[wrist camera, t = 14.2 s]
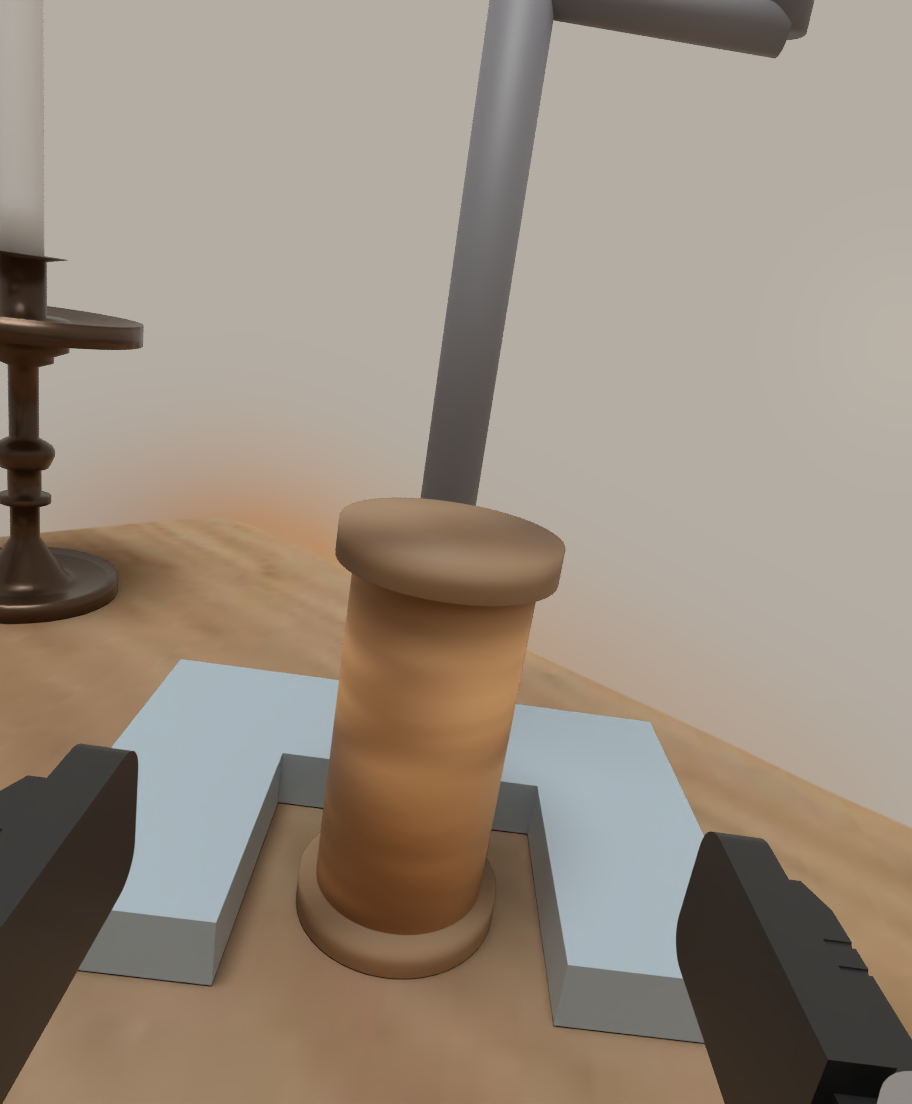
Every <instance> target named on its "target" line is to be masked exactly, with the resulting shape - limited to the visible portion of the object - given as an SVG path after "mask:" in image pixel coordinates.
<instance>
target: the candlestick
mask: <svg viewBox="0 0 912 1104" xmlns="http://www.w3.org/2000/svg"><path fill="white" fill-rule="evenodd" d="M43 79H44V78H43V0H0V361H1V362H3V363H6V364H8V407H9V436H8V437H5V438H3V439H1V440H0V467H2V468H5V469H7V480H8V482H7V483H8V490H5V491H2V492H0V504H3V505H6V506H10V538H9V540H8V541H7V542H6V544H5V545H4V547H3V548H0V623H34V622H45V621H53V620H59V619H65V618H70V617H74V616H78V615H82V614H85V613H88V612H91V611H94V610H96V609H99V608H100V607H102V606H104V605H106V604H108V603H109V602H110V601H111V600H112V599H114V598H115V596H116V594H117V592H118V571H117V569H116V568H115V567H114V565H112V564H111V563H110V562H108V561H106V560H104V559H102V558H100V557H98V556H94V555H91V554H88V553H84V552H79V551H75V550H68V549H61V548H51V547H47V546H46V545H45V543H44V542H43V541H42V539H41V538H40V507H41V506H46V505H48V504H50V503H51V495H50V494H49V493H47V492H44V491H41V470H46V469H48V468H49V466H50V465H51V463H52V461H53V459H54V457H55V450H54V448H53V446H52V445H51V444H49V443H48V442H46V441H44V440H42V439H41V438H39V377H38V376H39V367H41V366H45V365H50V364H53V363H54V357H56V356H60V355H64V354H67V353H69V348H77V349H100V350H127V349H128V350H129V349H138V348H141V347H143V324H141V323H138V322H135V321H131V320H127V319H122V318H117V317H112V316H107V315H101V314H96V313H89V312H83V311H76V310H70V309H64V308H56V307H49V306H47V262H54V261H66V260H64V259H58V258H52V257H45V256H44V110H43V109H44V95H43V94H44V86H43V85H44V84H43V83H44V80H43Z"/></svg>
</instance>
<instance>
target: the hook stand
mask: <svg viewBox="0 0 912 1104" xmlns="http://www.w3.org/2000/svg"><path fill="white" fill-rule="evenodd" d="M813 4H814V0H490V1H489V9H488V17H487V23H486V31H485V38H484V45H483V52H482V59H481V66H480V74H479V81H478V88H477V96H476V103H475V110H474V117H473V125H472V131H471V139H470V146H469V153H468V160H467V168H466V175H465V182H464V189H463V196H462V204H461V211H460V218H459V225H458V232H457V240H456V247H455V254H454V261H453V269H452V276H451V283H450V290H449V297H448V304H447V313H446V319H445V326H444V334H443V341H442V348H441V355H440V362H439V369H438V377H437V384H436V391H435V398H434V406H433V413H432V421H431V427H430V434H429V442H428V449H427V457H426V463H425V471H424V478H423V485H422V492H421V499H433V500H442V501H449V502H456V503H462V504H468V505H473V506H476V500H477V494H478V488H479V482H480V475H481V468H482V463H483V456H484V450H485V444H486V438H487V431H488V425H489V419H490V412H491V406H492V400H493V393H494V387H495V381H496V375H497V369H498V362H499V356H500V350H501V344H502V337H503V331H504V325H505V319H506V312H507V306H508V299H509V294H510V287H511V281H512V275H513V268H514V262H515V256H516V250H517V244H518V237H519V231H520V224H521V219H522V212H523V206H524V200H525V193H526V186H527V181H528V175H529V168H530V162H531V156H532V150H533V143H534V137H535V131H536V124H537V118H538V111H539V106H540V100H541V93H542V87H543V81H544V74H545V68H546V61H547V55H548V49H549V42H550V37H551V31H552V24H553V20H555V21H560V22H567V23H572V24H579V25H584V26H590V27H596V28H601V29H607V30H613V31H619V32H625V33H631V34H637V35H642V36H648V37H654V38H659V39H666V40H671V41H677V42H683V43H689V44H694V45H701V46H706V47H712V48H718V49H723V50H730V51H735V52H741V53H747V54H753V55H758V56H765V57H770V58H776V57H777V56H778V55H779V54H780V52H781V51H782V49H783V47H784V45H785V43H786V40H792V39H798V38H801V37H803V36H805V35H806V33H807V29H808V25H809V21H810V16H811V12H812V8H813ZM338 684H339V680H333V679H325V678H318V677H310V676H303V675H295V674H288V673H280V672H273V671H265V670H258V669H250V668H243V667H235V666H228V665H220V664H213V663H206V662H198V661H191V660H183V659H181V660H180V661H179V662H178V664H177V665H176V666H175V667H174V669H173V670H172V671H171V673H170V674H169V675H168V676H167V678H166V679H165V680H164V681H163V683H162V684H161V685H160V687H159V688H158V689H157V690H156V692H155V693H154V694H153V695H152V697H151V698H150V699H149V700H148V702H147V703H146V704H145V706H144V707H143V708H142V709H141V711H140V712H139V713H138V714H137V716H136V717H135V718H134V719H133V721H132V722H131V723H130V725H129V726H128V727H127V728H126V730H125V731H124V732H123V733H122V735H121V736H120V737H119V739H118V740H117V741H116V742H115V744H114V745H113V746H112V747H111V748H115V749H123V750H130V751H135V752H136V754H137V757H138V787H137V810H136V832H135V848H134V855H133V860H132V864H131V868H130V872H129V875H128V878H127V881H126V883H125V886H124V888H123V890H122V892H121V894H120V896H119V898H118V900H117V902H116V903H115V905H114V907H113V909H112V910H111V912H110V914H109V916H108V918H107V919H106V921H105V923H104V925H103V926H102V928H101V930H100V932H99V933H98V935H97V937H96V939H95V941H94V942H93V944H92V946H91V948H90V949H89V951H88V953H87V955H86V956H85V958H84V960H83V962H82V964H81V965H80V967H79V969H78V970H83V971H91V972H100V973H108V974H117V975H126V976H134V977H143V978H151V979H160V980H169V981H177V982H186V983H194V984H203V985H211V986H212V983H213V980H214V977H215V974H216V972H217V969H218V966H219V963H220V961H221V958H222V955H223V952H224V950H225V947H226V944H227V941H228V939H229V936H230V933H231V930H232V928H233V925H234V922H235V919H236V916H237V914H238V911H239V908H240V905H241V903H242V900H243V897H244V894H245V892H246V889H247V886H248V883H249V881H250V878H251V875H252V872H253V869H254V867H255V864H256V861H257V858H258V856H259V853H260V850H261V847H262V845H263V842H264V839H265V836H266V834H267V831H268V828H269V825H270V823H271V820H272V817H273V814H274V811H275V809H276V806H277V803H278V802H281V803H289V804H296V805H304V806H312V807H320V808H324V800H325V792H326V783H327V775H328V767H329V759H330V750H331V742H332V734H333V726H334V717H335V709H336V701H337V693H338ZM492 829H494V830H502V831H509V832H517V833H525V834H528V841H529V848H530V855H531V863H532V870H533V877H534V885H535V892H536V899H537V906H538V914H539V921H540V928H541V936H542V943H543V950H544V957H545V965H546V972H547V979H548V987H549V994H550V1001H551V1008H552V1016H553V1023H554V1025H555V1026H564V1027H572V1028H581V1029H589V1030H598V1031H607V1032H615V1033H624V1034H632V1035H641V1036H650V1037H658V1038H667V1039H675V1040H684V1041H693V1042H701V1043H704V1040H703V1037H702V1034H701V1031H700V1028H699V1025H698V1022H697V1019H696V1016H695V1013H694V1010H693V1007H692V1004H691V1001H690V998H689V995H688V992H687V989H686V986H685V983H684V980H683V977H682V974H681V971H680V968H679V965H678V960H677V953H676V929H677V922H678V917H679V914H680V910H681V907H682V904H683V900H684V897H685V894H686V890H687V887H688V883H689V880H690V877H691V873H692V870H693V867H694V863H695V860H696V857H697V853H698V850H699V847H700V844H701V841H702V839H703V837H704V835H703V833H702V831H701V829H700V827H699V825H698V823H697V820H696V818H695V816H694V814H693V812H692V810H691V808H690V806H689V803H688V801H687V799H686V797H685V795H684V793H683V791H682V789H681V787H680V784H679V782H678V780H677V778H676V776H675V774H674V772H673V770H672V767H671V765H670V763H669V761H668V759H667V757H666V755H665V753H664V751H663V748H662V746H661V744H660V742H659V740H658V738H657V736H656V734H655V731H654V729H653V727H652V725H651V723H650V722H646V721H639V720H631V719H624V718H617V717H609V716H602V715H594V714H587V713H579V712H572V711H564V710H557V709H549V708H542V707H534V706H527V705H519V704H516V705H515V710H514V716H513V721H512V726H511V731H510V736H509V741H508V747H507V752H506V757H505V762H504V767H503V772H502V777H501V783H500V788H499V793H498V798H497V803H496V808H495V814H494V819H493V824H492Z"/></svg>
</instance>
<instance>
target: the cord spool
mask: <svg viewBox="0 0 912 1104" xmlns="http://www.w3.org/2000/svg"><path fill="white" fill-rule="evenodd" d="M339 516H340V517H339V524H338V533H337V542H336V557H337V559H338V561H339V562H340V563H341V565H343V566H344V567H345V568H346V569H347V570H348V571H350V572H352V577H351V585H350V594H349V602H348V610H347V618H346V627H345V635H344V643H343V651H342V660H341V668H340V676H339V684H338V693H337V701H336V709H335V717H334V726H333V734H332V742H331V750H330V759H329V767H328V775H327V783H326V792H325V800H324V808H323V816H322V825H321V832H320V833H319V834H317V835H316V837H315V838H314V839H313V840H312V841H311V842H310V843H309V845H308V846H307V848H306V849H305V851H304V853H303V855H302V858H301V862H300V867H299V875H298V884H297V893H296V907H297V913H298V916H299V920H300V922H301V924H302V926H303V928H304V930H305V932H306V933H307V935H308V936H309V937H310V939H311V940H312V941H313V942H314V943H315V944H316V945H317V946H318V947H319V949H321V950H322V951H323V952H324V953H326V954H327V955H328V956H329V957H331V958H333V959H334V960H336V961H338V962H339V963H341V964H343V965H345V966H347V967H349V968H352V969H354V970H357V971H360V972H363V973H366V974H370V975H374V976H379V977H386V978H395V979H411V978H420V977H426V976H431V975H435V974H439V973H441V972H444V971H447V970H449V969H451V968H453V967H455V966H457V965H459V964H461V963H462V962H464V961H465V960H466V959H468V958H469V957H470V956H471V955H472V954H473V953H474V952H475V951H476V950H477V949H478V948H479V947H480V945H481V944H482V943H483V941H484V939H485V937H486V935H487V933H488V929H489V926H490V921H491V916H492V911H493V906H494V901H495V896H496V881H495V876H494V873H493V870H492V868H491V866H490V863H489V862H488V860H487V858H486V855H487V850H488V844H489V839H490V834H491V829H492V824H493V819H494V814H495V808H496V803H497V798H498V793H499V788H500V783H501V777H502V772H503V767H504V762H505V757H506V752H507V747H508V741H509V736H510V731H511V726H512V721H513V716H514V710H515V705H516V700H517V695H518V690H519V685H520V680H521V674H522V669H523V664H524V659H525V654H526V649H527V643H528V638H529V633H530V628H531V623H532V618H533V613H534V607H535V602H536V601H540V600H542V599H545V598H547V597H549V596H550V595H552V594H553V593H554V592H555V591H556V590H557V587H558V584H559V579H560V573H561V569H562V564H563V559H564V554H565V545H564V543H563V541H562V540H561V539H560V538H559V537H557V536H556V535H555V534H554V533H552V532H550V531H549V530H547V529H545V528H543V527H541V526H539V525H537V524H535V523H532V522H530V521H527V520H525V519H522V518H519V517H516V516H513V515H509V514H506V513H503V512H499V511H496V510H491V509H487V508H483V507H478V506H473V505H468V504H462V503H456V502H449V501H442V500H433V499H421V498H379V499H370V500H363V501H359V502H356V503H352V504H350V505H348V506H346V507H344V508H343V509H342V510H341V512H340V515H339Z"/></svg>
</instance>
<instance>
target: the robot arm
mask: <svg viewBox="0 0 912 1104" xmlns="http://www.w3.org/2000/svg"><path fill="white" fill-rule="evenodd" d="M137 787H138V757H137V754H136V752H135V751H130V750H123V749H115V748H108V747H101V746H93V745H86V744H77V745H76V746H74V747H73V748H72V749H71V751H70V752H69V753H68V754H67V755H66V756H65V758H64V759H63V760H62V761H61V762H60V763H59V765H58V766H57V767H56V768H55V769H54V770H53V772H52V773H51V774H50V775H49V776H48V777H47V778H43V777H36V776H26V777H24V778H22V779H21V780H19V781H17V782H15V783H14V784H12V785H10V786H8V787H6V788H5V789H3V790H1V791H0V1104H2V1103H3V1101H4V1100H5V1098H6V1096H7V1094H8V1093H9V1091H10V1089H11V1087H12V1085H13V1084H14V1082H15V1080H16V1078H17V1077H18V1075H19V1073H20V1071H21V1070H22V1068H23V1066H24V1064H25V1062H26V1061H27V1059H28V1057H29V1055H30V1054H31V1052H32V1050H33V1048H34V1047H35V1045H36V1043H37V1041H38V1040H39V1038H40V1036H41V1034H42V1032H43V1031H44V1029H45V1027H46V1025H47V1024H48V1022H49V1020H50V1018H51V1017H52V1015H53V1013H54V1011H55V1009H56V1008H57V1006H58V1004H59V1002H60V1001H61V999H62V997H63V995H64V994H65V992H66V990H67V988H68V986H69V985H70V983H71V981H72V979H73V978H74V976H75V974H76V972H77V971H78V969H79V967H80V965H81V964H82V962H83V960H84V958H85V956H86V955H87V953H88V951H89V949H90V948H91V946H92V944H93V942H94V941H95V939H96V937H97V935H98V933H99V932H100V930H101V928H102V926H103V925H104V923H105V921H106V919H107V918H108V916H109V914H110V912H111V910H112V909H113V907H114V905H115V903H116V902H117V900H118V898H119V896H120V894H121V892H122V890H123V888H124V886H125V883H126V881H127V878H128V875H129V872H130V868H131V864H132V860H133V855H134V848H135V832H136V810H137ZM851 943H852V942H851V941H850V939H849V937H848V936H847V934H846V933H845V931H844V929H843V928H842V926H841V924H840V923H839V921H838V920H837V918H836V916H835V915H834V913H833V911H832V910H831V909H830V908H829V907H828V906H827V905H825V904H824V903H823V902H822V901H821V900H820V899H819V898H818V897H817V896H816V895H815V894H814V893H813V892H812V891H810V890H809V889H808V888H807V887H806V886H805V885H804V884H803V883H802V882H801V881H795V880H789V879H788V877H787V876H786V874H785V872H784V870H783V869H782V867H781V865H780V864H779V862H778V860H777V858H776V857H775V855H774V853H773V851H772V850H771V848H770V846H769V845H768V843H767V842H766V841H765V840H763V839H761V838H754V837H747V836H739V835H732V834H725V833H717V832H708V833H707V834H706V835H705V836H704V837H703V839H702V841H701V844H700V847H699V850H698V853H697V857H696V860H695V863H694V867H693V870H692V873H691V877H690V880H689V883H688V887H687V890H686V894H685V897H684V900H683V904H682V907H681V910H680V914H679V917H678V922H677V929H676V953H677V960H678V965H679V968H680V971H681V974H682V977H683V980H684V983H685V986H686V989H687V992H688V995H689V998H690V1001H691V1004H692V1007H693V1010H694V1013H695V1016H696V1019H697V1022H698V1025H699V1028H700V1031H701V1034H702V1037H703V1040H704V1043H705V1046H706V1049H707V1052H708V1055H709V1058H710V1061H711V1064H712V1067H713V1070H714V1073H715V1076H716V1079H717V1082H718V1085H719V1088H720V1091H721V1094H722V1097H723V1100H724V1103H725V1104H912V1039H911V1038H910V1036H909V1035H908V1033H907V1031H906V1030H905V1028H904V1026H903V1025H902V1023H901V1022H900V1020H899V1018H898V1017H897V1015H896V1013H895V1012H894V1010H893V1009H892V1007H891V1005H890V1004H889V1002H888V1001H887V999H886V997H885V996H884V994H883V992H882V991H881V989H880V988H879V986H878V984H877V983H876V981H875V979H874V978H873V976H869V975H868V968H867V967H866V965H865V963H864V962H863V960H862V958H861V957H860V955H859V954H858V952H857V950H856V949H852V946H851Z"/></svg>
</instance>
